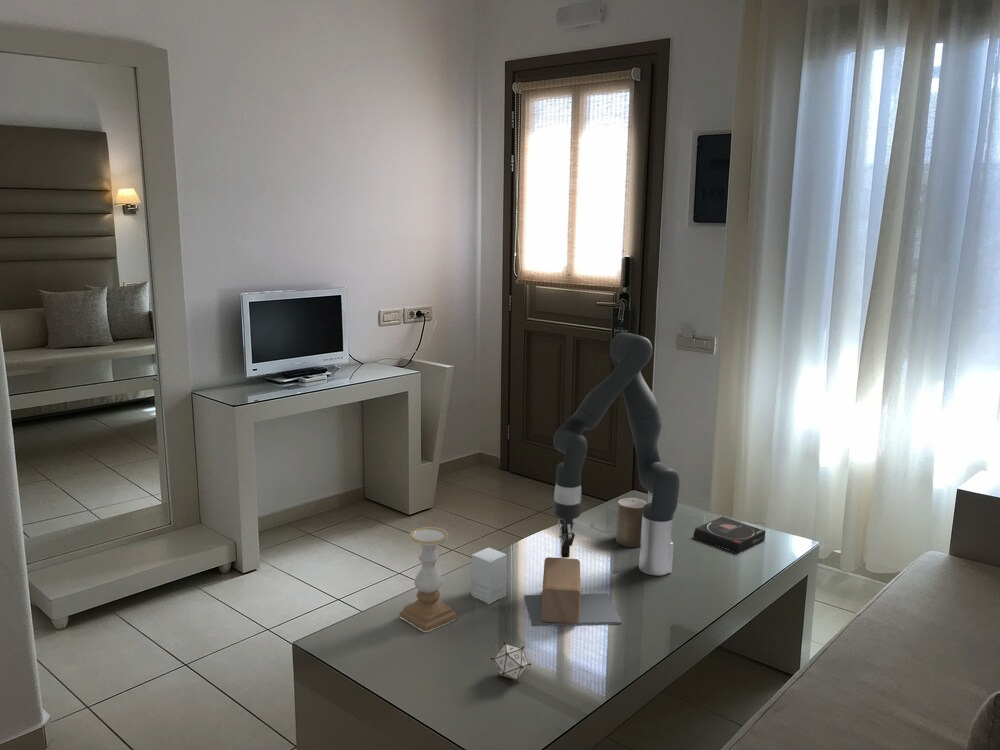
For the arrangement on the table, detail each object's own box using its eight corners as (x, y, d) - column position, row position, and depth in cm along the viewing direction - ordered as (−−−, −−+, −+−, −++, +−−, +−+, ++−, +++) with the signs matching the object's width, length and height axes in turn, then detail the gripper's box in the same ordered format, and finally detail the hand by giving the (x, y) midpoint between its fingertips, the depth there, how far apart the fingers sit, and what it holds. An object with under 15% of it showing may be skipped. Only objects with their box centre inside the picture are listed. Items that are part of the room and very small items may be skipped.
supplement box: (507, 596, 226) (508, 554, 223) (488, 605, 220) (489, 562, 218) (488, 587, 231) (489, 546, 228) (470, 596, 225) (470, 554, 223)
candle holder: (430, 604, 220) (431, 522, 215) (457, 619, 212) (458, 535, 207) (398, 618, 212) (398, 533, 207) (425, 634, 205) (425, 546, 200)
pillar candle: (647, 548, 260) (650, 504, 258) (617, 547, 260) (620, 503, 258) (642, 536, 270) (645, 494, 267) (613, 535, 270) (616, 493, 267)
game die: (502, 688, 188) (488, 646, 192) (536, 676, 189) (522, 634, 192) (498, 691, 180) (484, 646, 183) (534, 678, 180) (519, 633, 183)
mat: (607, 595, 228) (608, 593, 228) (621, 623, 212) (621, 621, 212) (524, 596, 225) (524, 595, 225) (531, 625, 210) (531, 623, 210)
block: (580, 557, 227) (580, 590, 207) (578, 590, 229) (579, 625, 209) (544, 555, 228) (542, 587, 208) (543, 588, 230) (540, 623, 210)
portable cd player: (719, 526, 281) (720, 515, 280) (764, 542, 269) (765, 530, 268) (693, 538, 270) (693, 527, 269) (738, 555, 258) (739, 543, 257)
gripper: (585, 507, 219) (582, 566, 223) (576, 490, 232) (573, 546, 236) (558, 507, 219) (555, 566, 222) (550, 491, 232) (548, 547, 235)
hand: (565, 556), depth 229 cm, fingers closed
